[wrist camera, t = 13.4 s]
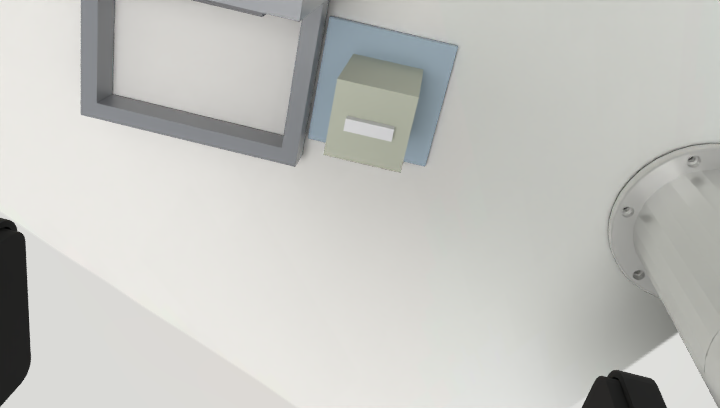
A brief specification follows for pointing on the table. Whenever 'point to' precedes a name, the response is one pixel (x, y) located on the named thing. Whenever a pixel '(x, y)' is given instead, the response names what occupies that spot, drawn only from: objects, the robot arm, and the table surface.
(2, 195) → the table surface
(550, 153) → the table surface
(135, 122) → the case
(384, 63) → the block
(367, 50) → the pad
